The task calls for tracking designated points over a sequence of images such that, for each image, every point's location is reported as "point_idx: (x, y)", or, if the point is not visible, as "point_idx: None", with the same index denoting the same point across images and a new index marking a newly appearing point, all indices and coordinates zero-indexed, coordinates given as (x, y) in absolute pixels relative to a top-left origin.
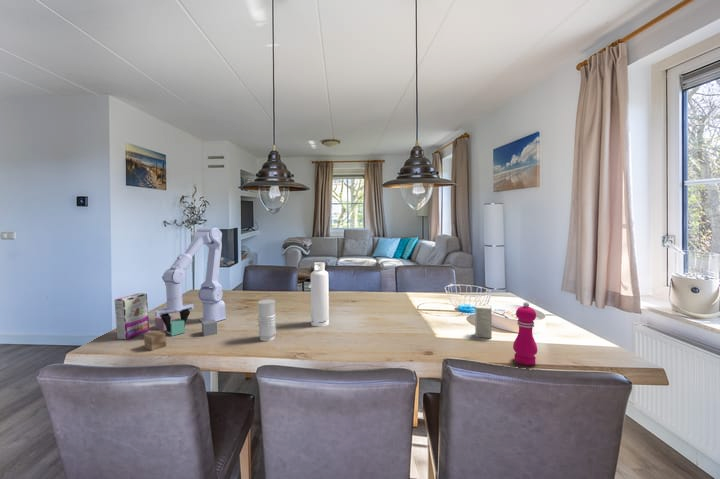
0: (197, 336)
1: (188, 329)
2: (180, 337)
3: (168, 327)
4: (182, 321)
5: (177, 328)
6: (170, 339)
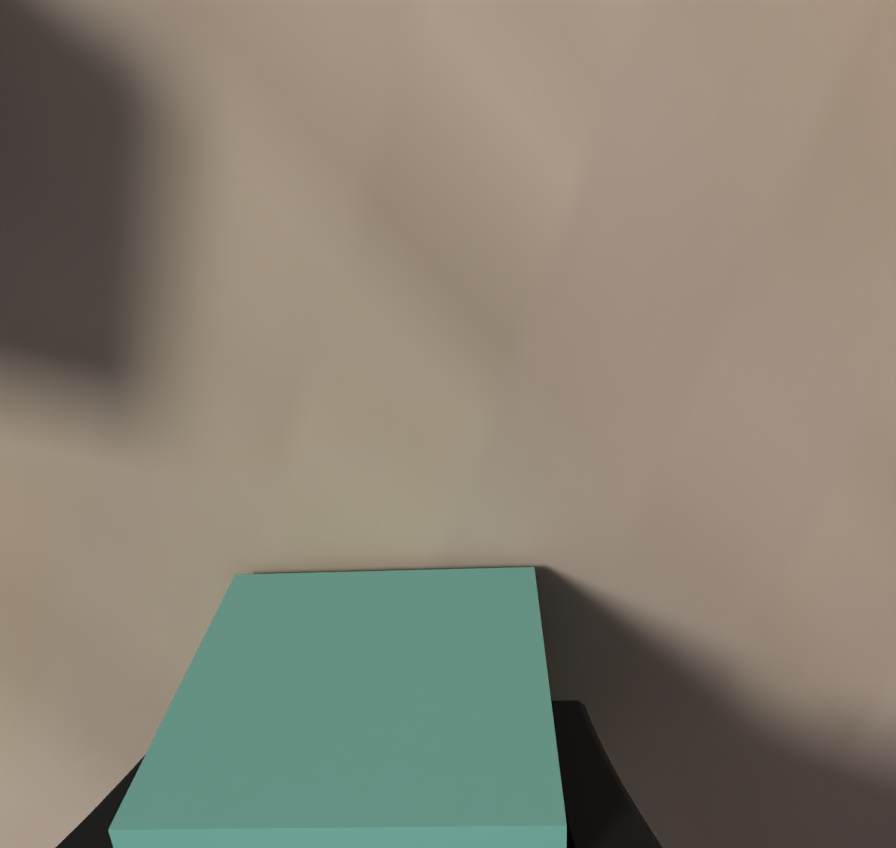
0: (27, 38)
1: (115, 732)
2: (416, 333)
3: (616, 783)
4: (178, 822)
5: (386, 671)
6: (648, 373)
